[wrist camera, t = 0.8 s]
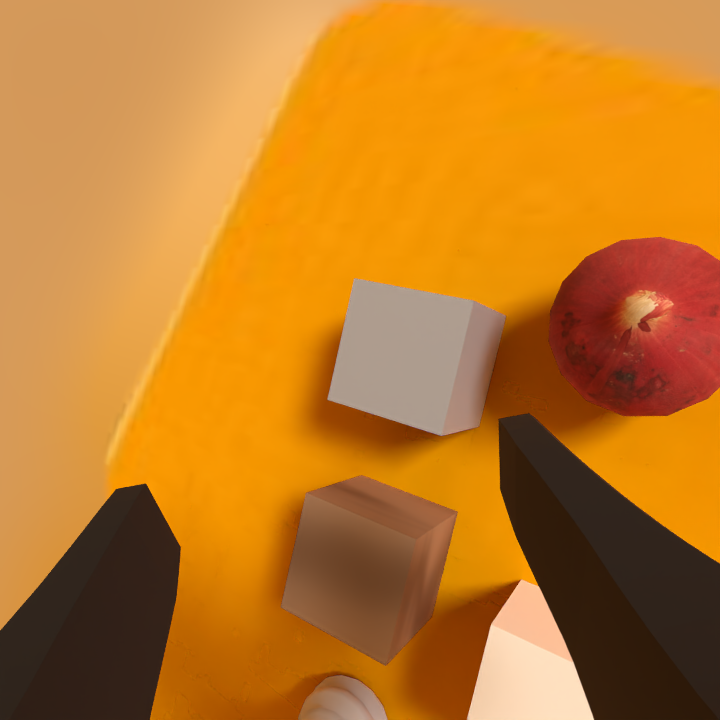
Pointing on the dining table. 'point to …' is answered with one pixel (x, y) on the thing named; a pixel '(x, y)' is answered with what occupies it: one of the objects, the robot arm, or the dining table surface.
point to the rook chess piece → (342, 701)
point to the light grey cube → (416, 357)
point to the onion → (640, 327)
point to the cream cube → (527, 666)
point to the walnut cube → (368, 564)
